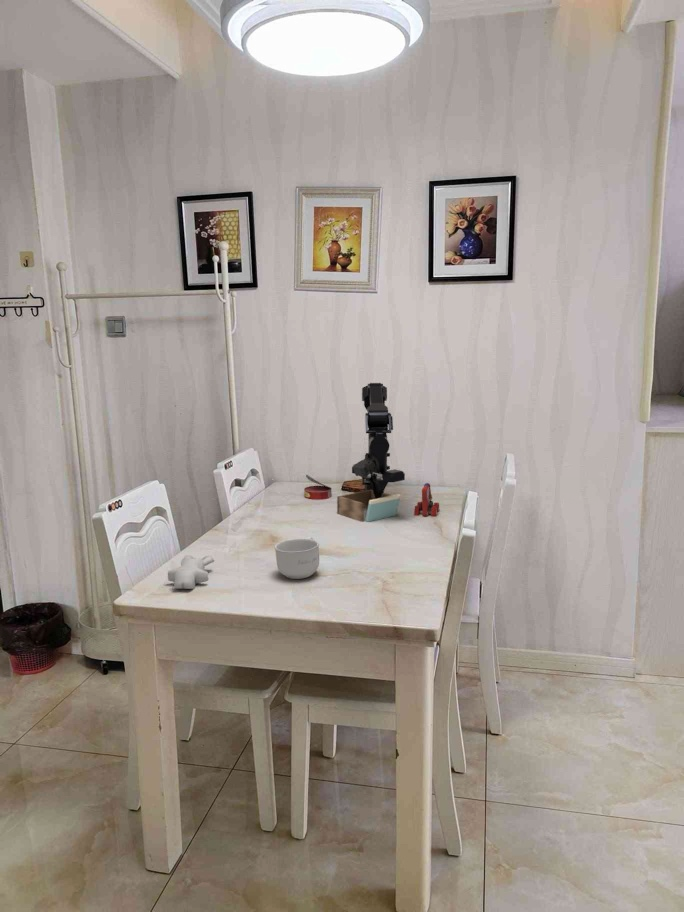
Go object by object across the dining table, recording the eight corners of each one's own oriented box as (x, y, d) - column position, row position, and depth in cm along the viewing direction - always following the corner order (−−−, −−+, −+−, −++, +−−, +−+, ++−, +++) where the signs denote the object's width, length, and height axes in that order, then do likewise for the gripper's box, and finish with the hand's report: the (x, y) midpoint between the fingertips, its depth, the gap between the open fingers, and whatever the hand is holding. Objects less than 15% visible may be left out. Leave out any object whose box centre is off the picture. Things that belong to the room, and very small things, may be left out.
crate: (337, 517, 217) (337, 496, 215) (371, 510, 225) (371, 489, 224) (361, 525, 207) (361, 503, 206) (396, 517, 216) (396, 496, 215)
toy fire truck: (440, 512, 223) (440, 481, 221) (435, 522, 211) (435, 489, 209) (419, 510, 225) (419, 480, 223) (413, 520, 213) (413, 488, 211)
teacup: (302, 586, 159) (302, 553, 158) (266, 577, 165) (265, 546, 163) (334, 568, 171) (334, 537, 169) (299, 561, 176) (299, 531, 175)
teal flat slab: (365, 520, 208) (369, 500, 205) (394, 513, 215) (398, 494, 212) (367, 521, 207) (371, 501, 204) (396, 515, 214) (400, 495, 212)
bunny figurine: (161, 576, 155) (180, 547, 170) (163, 595, 157) (181, 566, 171) (201, 576, 155) (217, 548, 169) (203, 596, 156) (218, 566, 171)
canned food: (307, 506, 249) (307, 480, 252) (334, 504, 247) (333, 478, 250) (300, 499, 238) (299, 472, 241) (328, 497, 236) (327, 469, 239)
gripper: (338, 449, 210) (338, 497, 213) (378, 457, 196) (378, 509, 199) (365, 445, 217) (365, 492, 220) (406, 452, 203) (405, 503, 206)
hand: (377, 499), depth 211 cm, fingers closed
